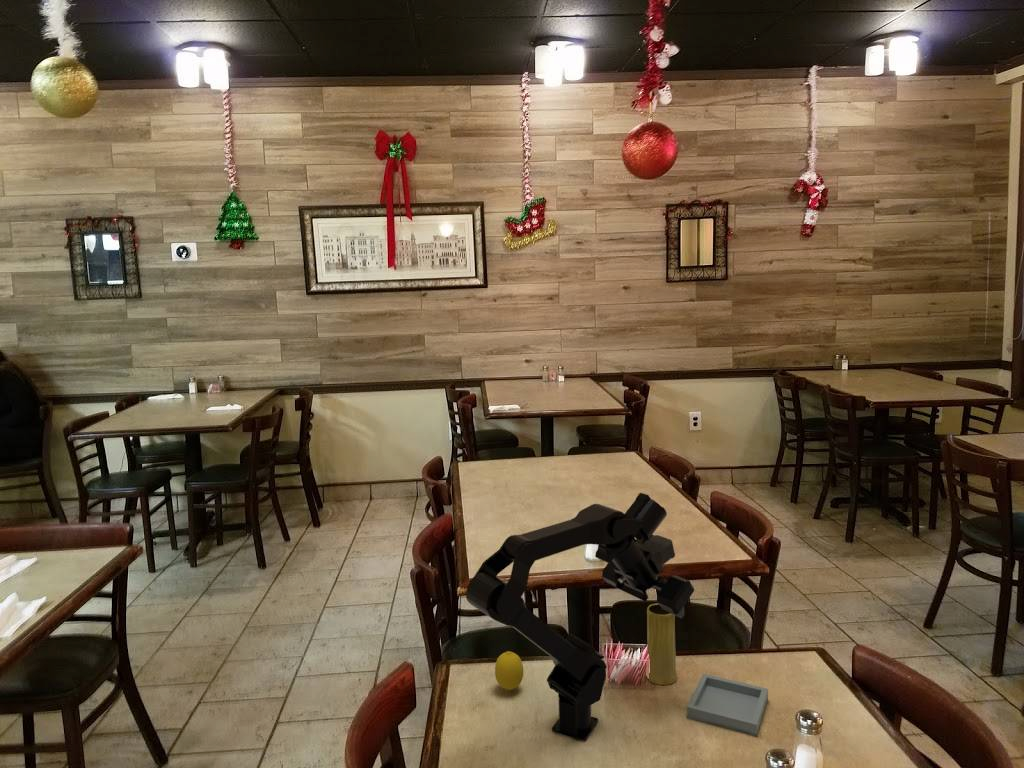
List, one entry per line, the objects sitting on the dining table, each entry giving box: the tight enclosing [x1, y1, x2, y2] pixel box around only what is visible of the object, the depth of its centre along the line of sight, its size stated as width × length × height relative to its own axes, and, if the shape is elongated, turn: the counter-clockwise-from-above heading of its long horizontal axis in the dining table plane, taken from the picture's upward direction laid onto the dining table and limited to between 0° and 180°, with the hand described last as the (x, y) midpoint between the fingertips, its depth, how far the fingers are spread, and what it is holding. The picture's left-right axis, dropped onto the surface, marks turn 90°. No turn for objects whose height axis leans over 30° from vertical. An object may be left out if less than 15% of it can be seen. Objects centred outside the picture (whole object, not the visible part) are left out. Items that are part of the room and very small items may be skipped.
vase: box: [646, 602, 678, 686], centre depth 138 cm, size 6×6×14 cm
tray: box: [686, 673, 769, 738], centre depth 127 cm, size 12×12×2 cm
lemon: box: [494, 650, 524, 692], centre depth 135 cm, size 6×6×8 cm
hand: (663, 607), depth 135 cm, fingers open, 9 cm apart
